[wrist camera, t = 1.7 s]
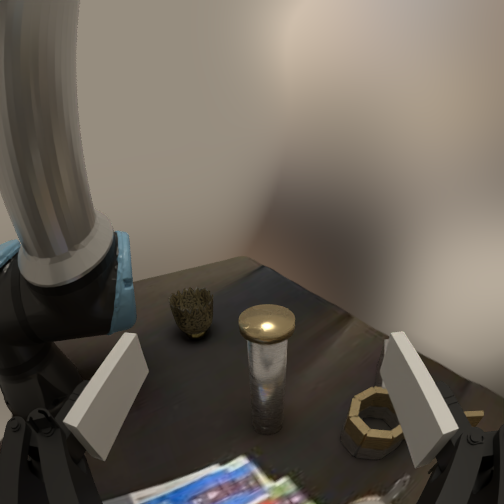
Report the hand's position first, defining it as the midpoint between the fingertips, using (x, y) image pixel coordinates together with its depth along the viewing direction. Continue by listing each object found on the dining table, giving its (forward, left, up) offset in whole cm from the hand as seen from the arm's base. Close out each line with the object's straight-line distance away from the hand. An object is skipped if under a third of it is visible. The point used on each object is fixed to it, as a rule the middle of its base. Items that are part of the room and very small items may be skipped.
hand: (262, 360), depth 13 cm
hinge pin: (+4, +9, -20) cm, 22 cm away
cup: (0, +31, -20) cm, 37 cm away
